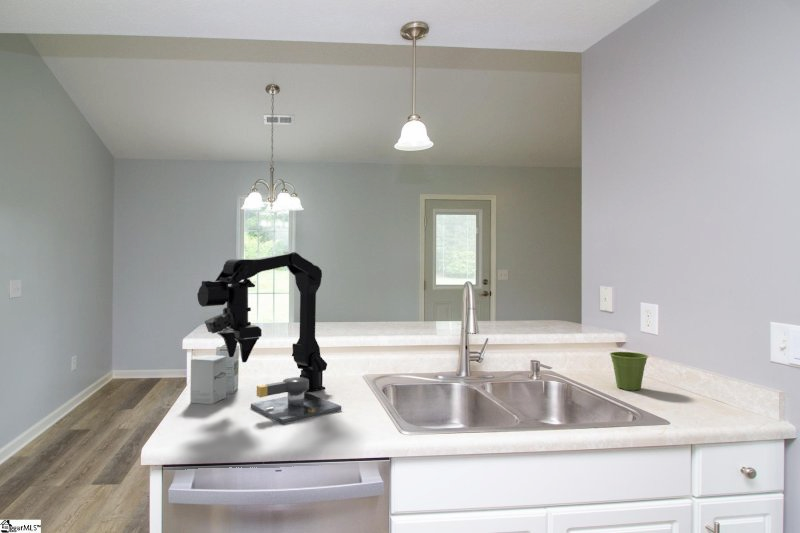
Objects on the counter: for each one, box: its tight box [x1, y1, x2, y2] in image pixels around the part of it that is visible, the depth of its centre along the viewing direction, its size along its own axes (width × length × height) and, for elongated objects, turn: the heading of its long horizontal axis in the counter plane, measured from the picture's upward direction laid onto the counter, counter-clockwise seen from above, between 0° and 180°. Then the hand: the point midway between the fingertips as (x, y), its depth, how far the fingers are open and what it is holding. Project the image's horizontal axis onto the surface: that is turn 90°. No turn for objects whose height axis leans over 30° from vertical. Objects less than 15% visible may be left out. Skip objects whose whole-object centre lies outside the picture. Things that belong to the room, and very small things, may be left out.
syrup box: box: [215, 343, 240, 395], centre depth 153 cm, size 6×6×14 cm
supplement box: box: [189, 354, 227, 405], centre depth 144 cm, size 7×7×13 cm
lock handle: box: [256, 376, 309, 398], centre depth 133 cm, size 15×7×3 cm, turn 132°
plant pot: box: [609, 351, 649, 392], centre depth 163 cm, size 12×12×11 cm
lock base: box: [250, 391, 342, 425], centre depth 136 cm, size 18×18×5 cm
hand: (237, 359), depth 137 cm, fingers open, 9 cm apart
